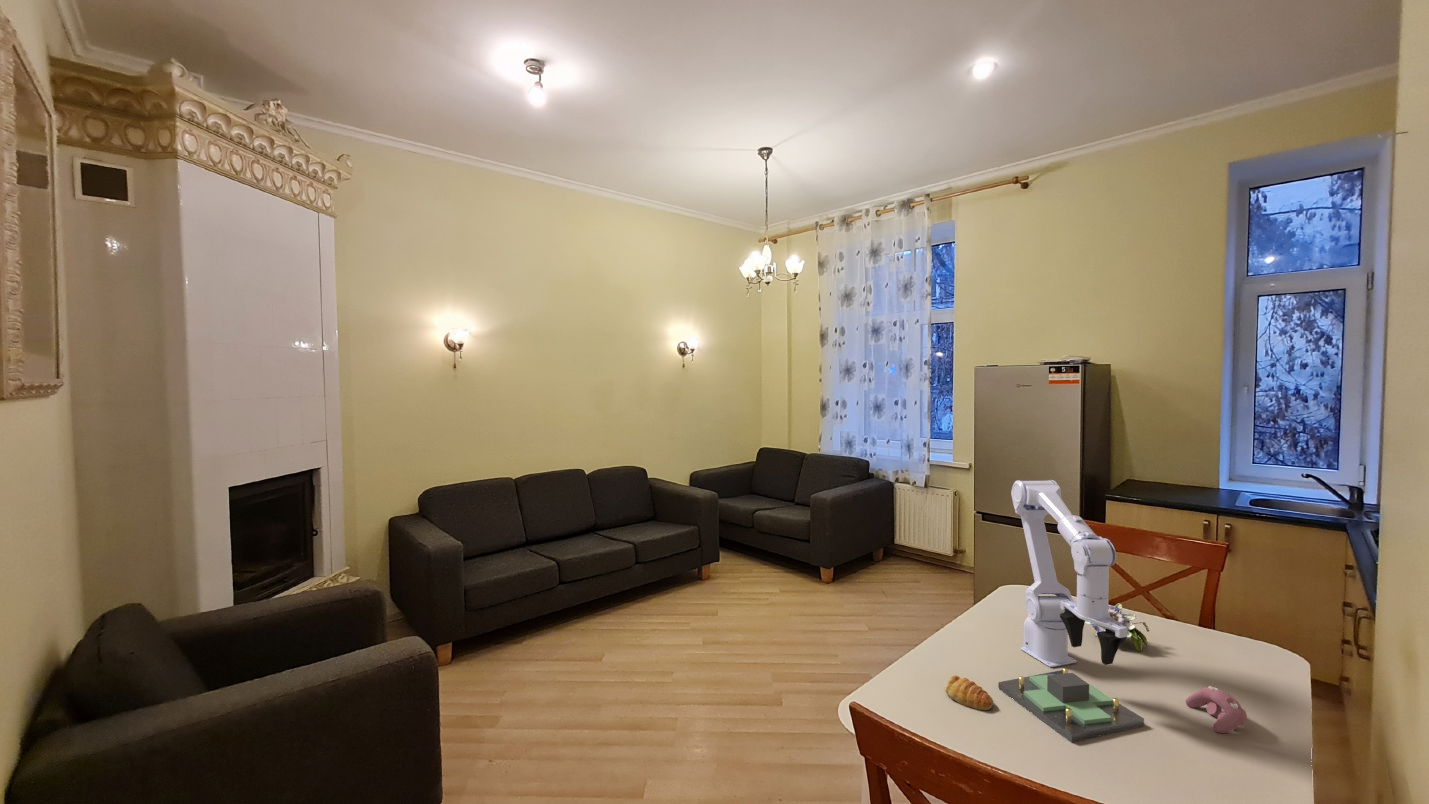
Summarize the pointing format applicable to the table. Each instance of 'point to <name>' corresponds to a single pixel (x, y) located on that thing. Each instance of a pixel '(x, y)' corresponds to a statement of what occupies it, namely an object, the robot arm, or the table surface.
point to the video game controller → (1219, 708)
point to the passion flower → (1125, 625)
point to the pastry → (968, 693)
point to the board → (1077, 708)
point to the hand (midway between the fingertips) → (1091, 654)
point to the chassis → (1064, 718)
